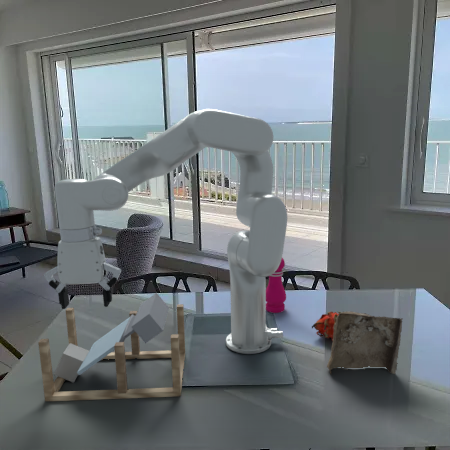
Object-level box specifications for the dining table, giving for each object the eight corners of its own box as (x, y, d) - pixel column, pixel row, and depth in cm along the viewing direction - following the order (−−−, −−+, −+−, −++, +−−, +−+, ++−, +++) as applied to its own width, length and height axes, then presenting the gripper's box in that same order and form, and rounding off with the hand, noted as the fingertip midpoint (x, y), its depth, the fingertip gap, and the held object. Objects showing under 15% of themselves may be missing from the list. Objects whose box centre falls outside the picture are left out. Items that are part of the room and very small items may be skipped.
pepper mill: (271, 303, 143) (271, 247, 139) (289, 308, 139) (290, 250, 135) (260, 310, 137) (260, 252, 133) (279, 315, 133) (280, 255, 129)
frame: (185, 354, 110) (183, 304, 107) (180, 396, 92) (178, 337, 89) (72, 358, 109) (67, 307, 106) (45, 401, 91) (38, 342, 88)
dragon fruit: (358, 346, 116) (314, 349, 118) (352, 319, 122) (311, 323, 124) (358, 331, 110) (312, 335, 112) (352, 303, 115) (309, 308, 118)
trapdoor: (169, 306, 105) (156, 291, 104) (162, 332, 91) (148, 315, 90) (104, 353, 107) (91, 339, 106) (87, 386, 93) (73, 369, 92)
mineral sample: (328, 375, 99) (330, 315, 96) (325, 366, 103) (327, 309, 100) (400, 375, 98) (404, 315, 95) (394, 366, 102) (398, 308, 99)
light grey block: (70, 343, 101) (61, 363, 102) (62, 353, 96) (53, 374, 97) (89, 350, 102) (80, 371, 103) (83, 361, 97) (73, 382, 98)
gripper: (120, 229, 97) (126, 297, 101) (45, 232, 97) (55, 301, 100) (113, 236, 90) (120, 310, 94) (32, 240, 90) (42, 314, 93)
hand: (86, 305), depth 97 cm, fingers open, 9 cm apart
